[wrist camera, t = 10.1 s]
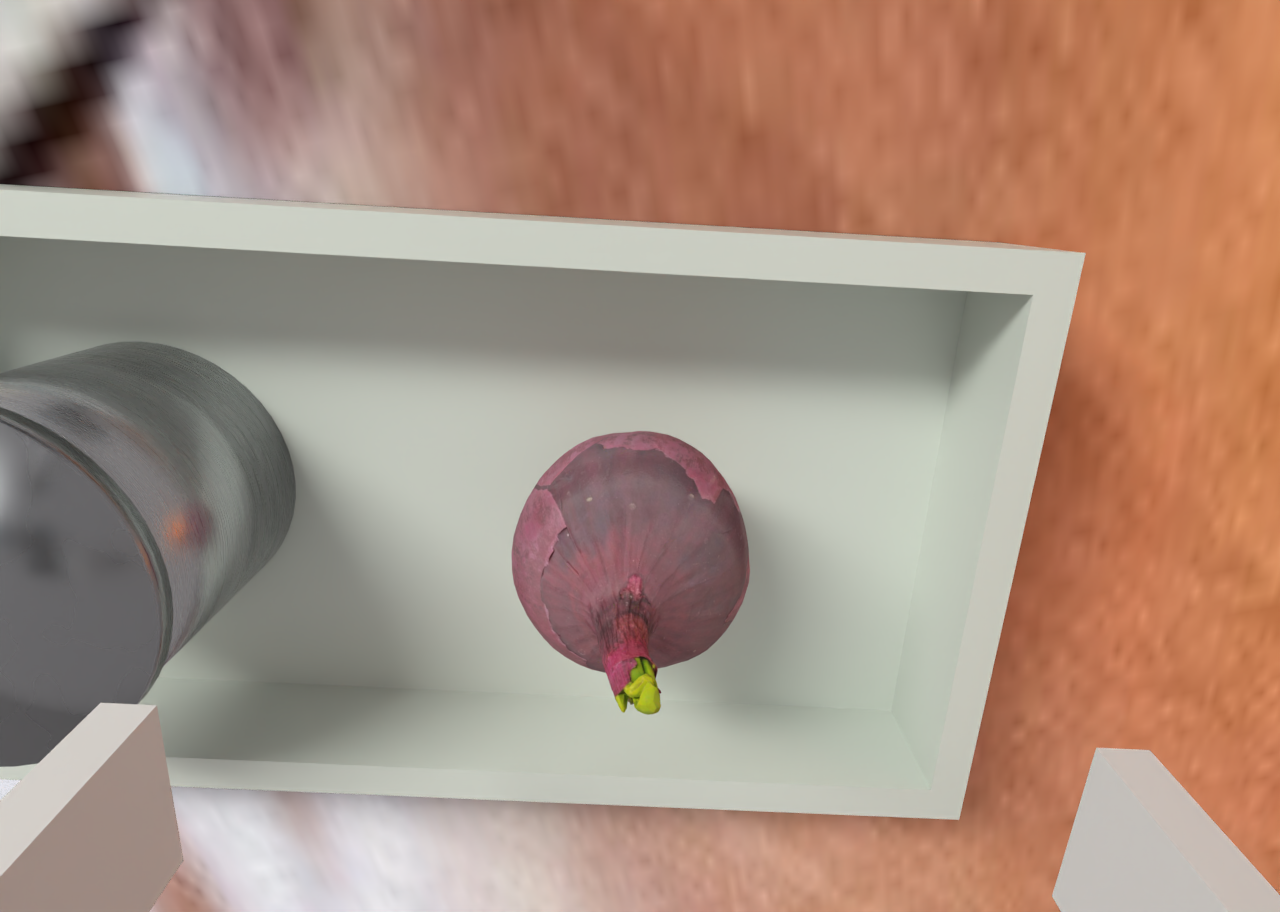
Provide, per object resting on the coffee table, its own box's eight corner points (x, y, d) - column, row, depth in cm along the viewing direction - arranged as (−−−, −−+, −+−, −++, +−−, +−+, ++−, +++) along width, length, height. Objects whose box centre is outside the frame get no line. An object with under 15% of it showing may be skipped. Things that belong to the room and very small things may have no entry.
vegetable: (578, 617, 25) (543, 873, 16) (494, 444, 23) (398, 614, 14) (759, 551, 24) (838, 776, 15) (687, 368, 23) (725, 491, 13)
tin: (-12, 325, 22) (-325, 387, 15) (291, 342, 22) (126, 411, 15) (41, 595, 25) (-205, 758, 18) (312, 607, 25) (181, 774, 18)
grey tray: (-84, 179, 22) (-260, 174, 17) (999, 242, 22) (1085, 253, 18) (23, 682, 27) (-94, 775, 22) (908, 722, 27) (959, 819, 23)
